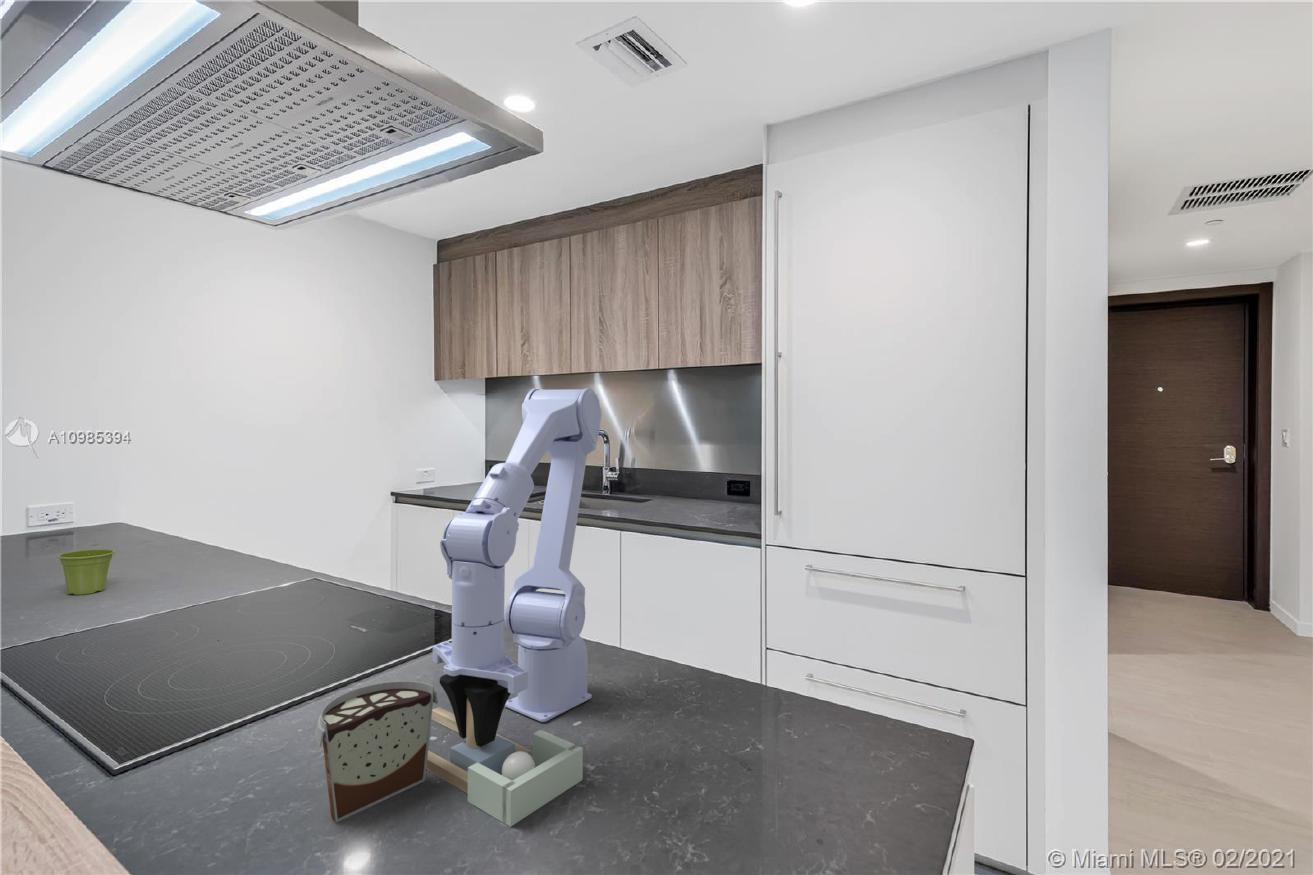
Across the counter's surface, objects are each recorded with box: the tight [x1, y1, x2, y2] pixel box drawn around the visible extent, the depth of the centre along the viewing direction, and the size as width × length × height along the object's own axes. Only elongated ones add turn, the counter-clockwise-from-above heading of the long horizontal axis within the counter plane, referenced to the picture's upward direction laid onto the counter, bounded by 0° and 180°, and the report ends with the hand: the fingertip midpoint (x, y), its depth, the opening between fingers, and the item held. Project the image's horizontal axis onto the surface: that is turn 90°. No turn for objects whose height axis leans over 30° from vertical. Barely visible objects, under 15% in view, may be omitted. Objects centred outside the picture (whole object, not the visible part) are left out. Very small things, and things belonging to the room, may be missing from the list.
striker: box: [449, 698, 515, 774], centre depth 70 cm, size 5×5×8 cm
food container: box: [314, 680, 439, 824], centre depth 65 cm, size 12×6×10 cm, turn 141°
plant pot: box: [57, 548, 116, 596], centre depth 138 cm, size 9×9×9 cm
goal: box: [467, 729, 584, 828], centre depth 65 cm, size 10×7×4 cm, turn 143°
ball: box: [501, 751, 536, 781], centre depth 66 cm, size 4×4×4 cm
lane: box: [426, 706, 533, 795], centre depth 73 cm, size 8×18×1 cm, turn 54°
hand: (477, 738), depth 70 cm, fingers closed on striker, 2 cm apart
